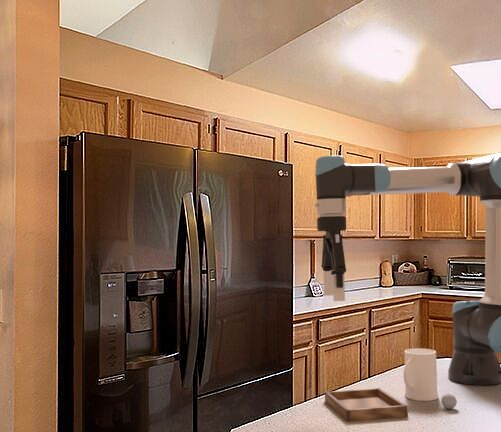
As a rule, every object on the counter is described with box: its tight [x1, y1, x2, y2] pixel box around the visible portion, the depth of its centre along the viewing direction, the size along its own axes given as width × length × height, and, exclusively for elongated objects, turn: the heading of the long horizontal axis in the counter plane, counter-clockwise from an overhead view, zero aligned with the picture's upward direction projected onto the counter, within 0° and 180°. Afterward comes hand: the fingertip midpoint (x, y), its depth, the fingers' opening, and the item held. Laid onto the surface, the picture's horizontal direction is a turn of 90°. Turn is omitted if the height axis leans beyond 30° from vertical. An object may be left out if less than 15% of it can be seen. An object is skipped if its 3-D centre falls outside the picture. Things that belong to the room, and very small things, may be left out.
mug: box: [403, 347, 439, 402], centre depth 160 cm, size 12×8×12 cm
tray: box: [324, 387, 409, 422], centre depth 151 cm, size 15×17×2 cm
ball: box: [441, 393, 458, 410], centre depth 149 cm, size 4×4×4 cm
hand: (334, 298), depth 157 cm, fingers open, 13 cm apart
